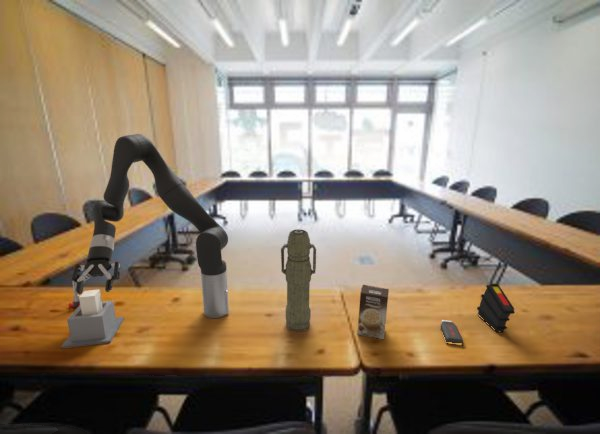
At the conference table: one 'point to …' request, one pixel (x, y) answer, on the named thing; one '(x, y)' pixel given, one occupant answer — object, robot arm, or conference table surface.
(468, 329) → the conference table surface
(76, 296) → the tow hook
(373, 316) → the coffee box
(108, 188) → the robot arm
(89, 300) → the white square block
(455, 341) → the usb drive
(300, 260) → the thermos
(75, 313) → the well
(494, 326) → the black ridged case
